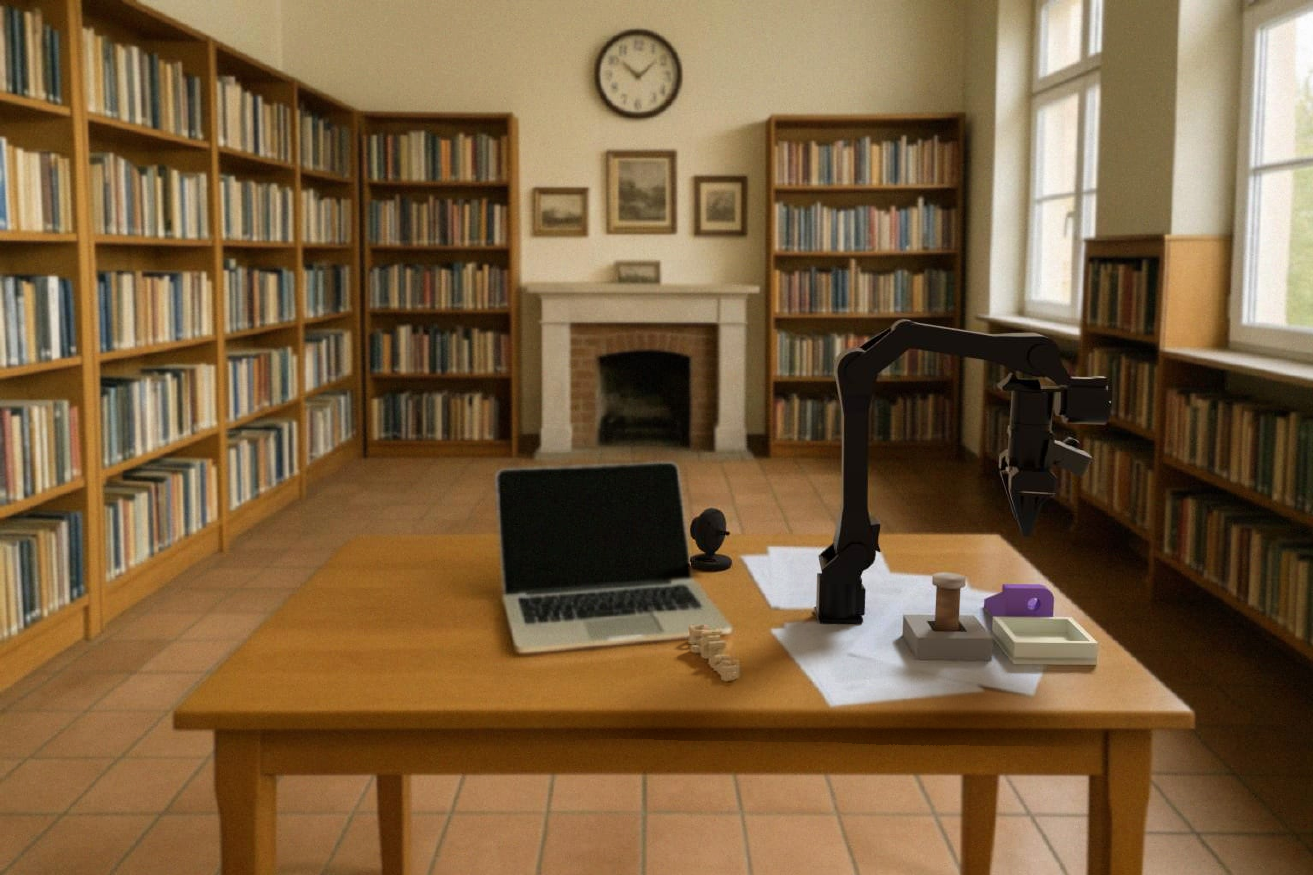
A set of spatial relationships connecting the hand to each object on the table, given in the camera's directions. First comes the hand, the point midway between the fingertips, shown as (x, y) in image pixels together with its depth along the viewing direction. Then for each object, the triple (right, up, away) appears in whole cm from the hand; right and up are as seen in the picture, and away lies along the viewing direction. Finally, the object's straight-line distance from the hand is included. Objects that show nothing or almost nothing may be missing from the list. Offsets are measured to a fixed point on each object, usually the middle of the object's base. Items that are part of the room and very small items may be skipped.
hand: (1022, 528), depth 178 cm
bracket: (0, -14, +4) cm, 15 cm away
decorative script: (-45, -17, -14) cm, 50 cm away
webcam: (-44, -9, +32) cm, 55 cm away
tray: (0, -16, -10) cm, 19 cm away
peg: (-13, -16, -9) cm, 22 cm away
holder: (-13, -16, -9) cm, 22 cm away
